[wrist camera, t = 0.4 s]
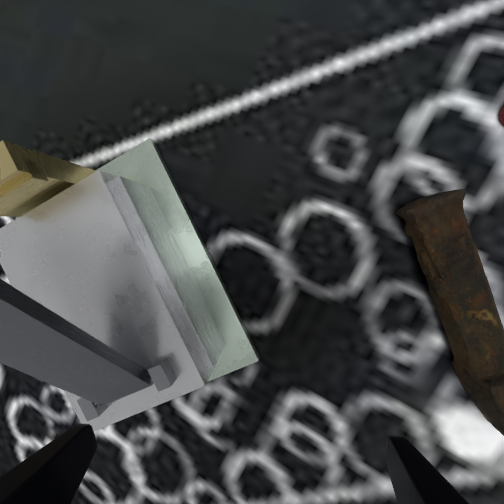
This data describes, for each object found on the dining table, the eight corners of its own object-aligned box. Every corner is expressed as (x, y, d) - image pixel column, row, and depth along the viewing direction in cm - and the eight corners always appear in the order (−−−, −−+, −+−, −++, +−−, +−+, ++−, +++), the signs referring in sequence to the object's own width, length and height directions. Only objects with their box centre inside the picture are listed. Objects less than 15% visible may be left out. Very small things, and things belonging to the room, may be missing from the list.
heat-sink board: (259, 356, 22) (244, 439, 13) (121, 413, 24) (29, 517, 16) (154, 141, 22) (66, 79, 13) (24, 218, 24) (-129, 210, 15)
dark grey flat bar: (155, 375, 17) (154, 387, 17) (109, 395, 18) (105, 407, 17) (-96, 219, 9) (-119, 230, 8) (-168, 265, 10) (-194, 279, 9)
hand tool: (386, 208, 20) (415, 201, 16) (438, 191, 20) (485, 179, 15) (450, 424, 21) (496, 478, 16) (502, 414, 20) (565, 467, 16)
